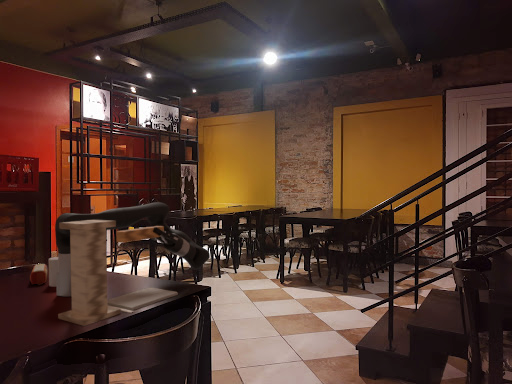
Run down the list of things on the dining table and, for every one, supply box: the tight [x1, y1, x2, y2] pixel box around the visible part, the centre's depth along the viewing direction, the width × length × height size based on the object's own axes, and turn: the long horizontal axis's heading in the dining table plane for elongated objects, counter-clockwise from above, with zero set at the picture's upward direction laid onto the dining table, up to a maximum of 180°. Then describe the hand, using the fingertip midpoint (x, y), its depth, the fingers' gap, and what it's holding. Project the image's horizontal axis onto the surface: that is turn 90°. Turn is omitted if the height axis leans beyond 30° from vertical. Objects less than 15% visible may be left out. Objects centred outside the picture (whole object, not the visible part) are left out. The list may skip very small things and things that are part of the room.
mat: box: [107, 286, 179, 311], centre depth 150 cm, size 23×16×1 cm
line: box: [107, 305, 135, 314], centre depth 139 cm, size 2×20×1 cm, turn 58°
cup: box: [48, 256, 58, 288], centre depth 176 cm, size 8×8×12 cm
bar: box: [116, 226, 164, 244], centre depth 150 cm, size 20×4×4 cm, turn 148°
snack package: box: [29, 263, 48, 285], centre depth 185 cm, size 21×7×7 cm, turn 26°
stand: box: [57, 220, 122, 327], centre depth 131 cm, size 14×14×32 cm
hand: (150, 229), depth 154 cm, fingers closed on bar, 4 cm apart
